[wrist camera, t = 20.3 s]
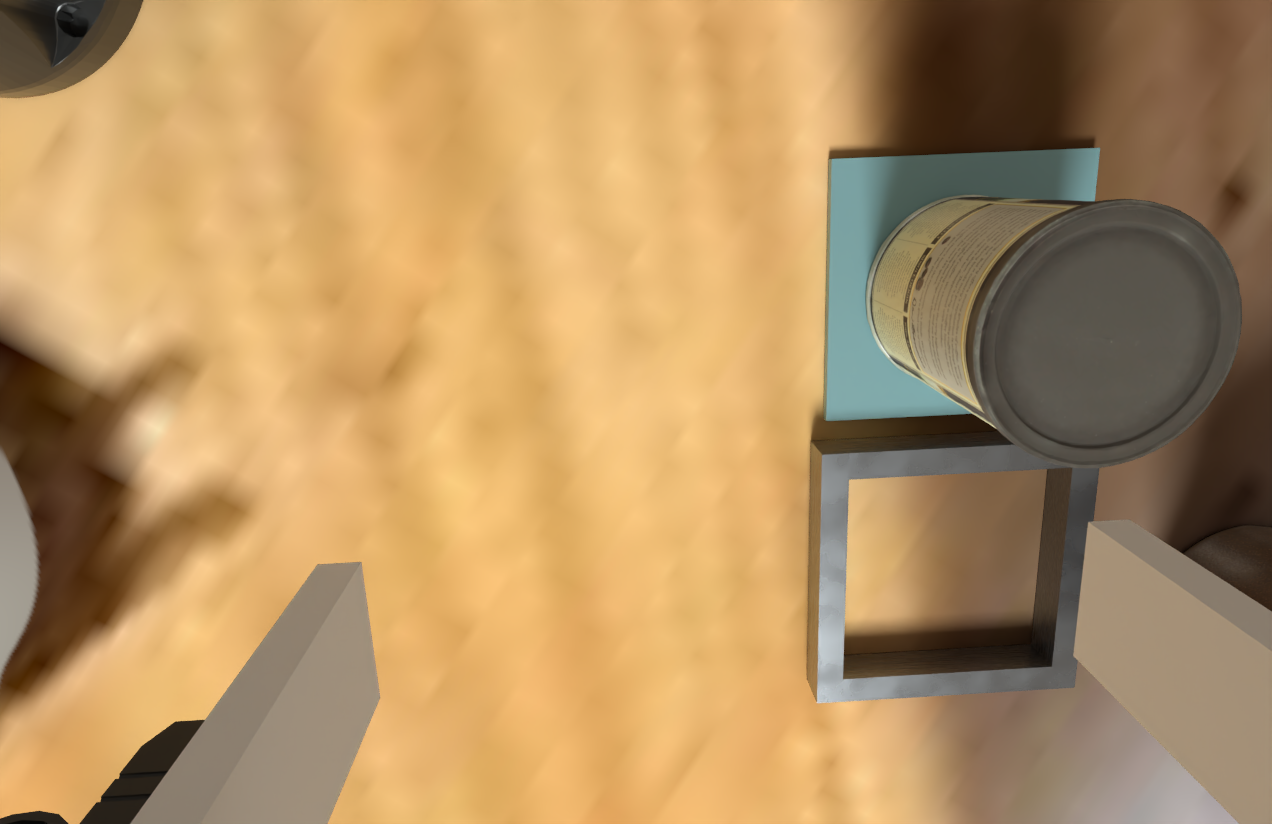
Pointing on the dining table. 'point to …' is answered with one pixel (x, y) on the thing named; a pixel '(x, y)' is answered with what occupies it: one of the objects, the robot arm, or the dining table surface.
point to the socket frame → (945, 668)
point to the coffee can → (1060, 319)
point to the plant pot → (1239, 560)
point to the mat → (867, 214)
